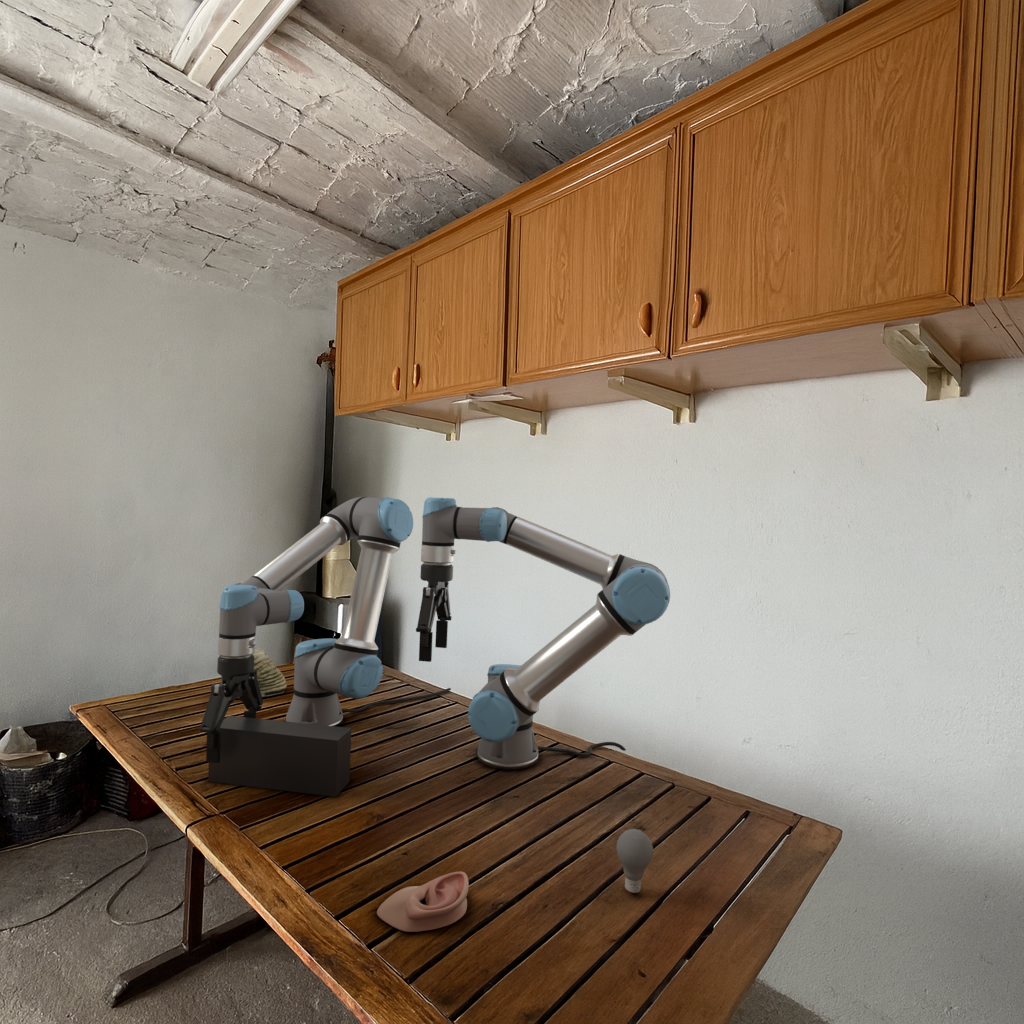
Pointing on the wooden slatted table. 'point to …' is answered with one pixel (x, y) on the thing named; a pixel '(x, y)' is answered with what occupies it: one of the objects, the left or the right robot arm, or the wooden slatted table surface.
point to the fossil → (268, 674)
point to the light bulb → (634, 857)
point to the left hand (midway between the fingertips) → (231, 750)
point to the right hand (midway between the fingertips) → (433, 654)
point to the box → (283, 756)
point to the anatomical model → (427, 904)
